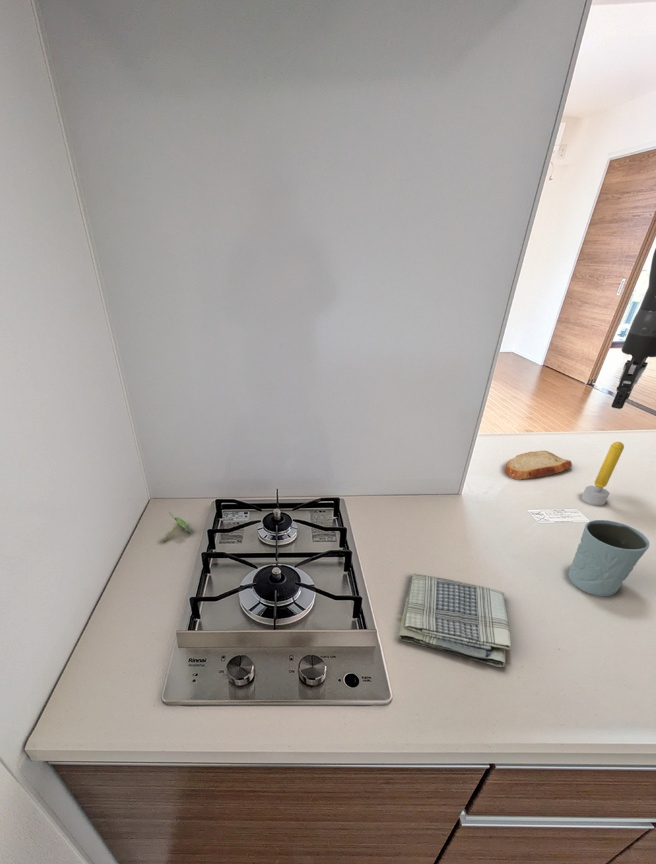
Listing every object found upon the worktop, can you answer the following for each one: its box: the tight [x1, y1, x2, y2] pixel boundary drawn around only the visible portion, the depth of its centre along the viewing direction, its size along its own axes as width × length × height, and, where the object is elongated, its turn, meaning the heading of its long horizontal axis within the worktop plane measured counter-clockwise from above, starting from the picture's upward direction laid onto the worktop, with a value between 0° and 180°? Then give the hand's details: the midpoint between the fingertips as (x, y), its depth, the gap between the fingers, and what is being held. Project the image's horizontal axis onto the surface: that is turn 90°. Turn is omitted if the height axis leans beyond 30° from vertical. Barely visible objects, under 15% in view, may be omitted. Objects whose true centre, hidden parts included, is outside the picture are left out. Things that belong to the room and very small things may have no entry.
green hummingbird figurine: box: [162, 511, 192, 543], centre depth 104 cm, size 7×8×6 cm
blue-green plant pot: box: [568, 519, 650, 597], centre depth 86 cm, size 10×10×12 cm
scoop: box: [581, 441, 625, 506], centre depth 110 cm, size 5×5×17 cm
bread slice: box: [504, 450, 573, 481], centre depth 128 cm, size 18×18×4 cm
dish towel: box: [398, 573, 512, 668], centre depth 80 cm, size 19×18×3 cm
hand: (619, 403), depth 105 cm, fingers open, 8 cm apart
